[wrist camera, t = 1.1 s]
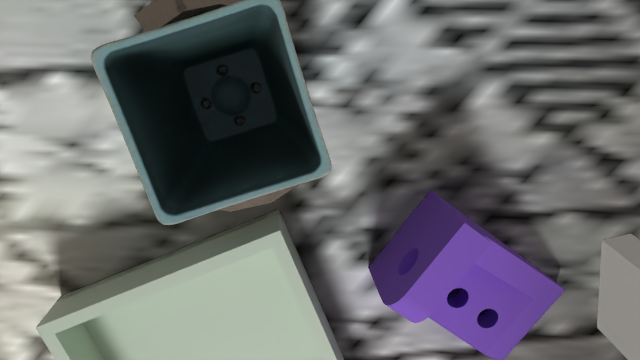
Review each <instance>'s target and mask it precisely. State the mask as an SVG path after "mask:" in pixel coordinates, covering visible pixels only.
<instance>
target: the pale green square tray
mask: <svg viewBox="0 0 640 360" xmlns="http://www.w3.org/2000/svg"><path fill="white" fill-rule="evenodd" d="M36 329H37V331H38V332H39V334H40V336H41V337H42V339H43V341H44V342H45V344H46V345H47V347H48V349H49V350H50V352H51V353H52V355H53V357H54V358H55V360H71V359H72V360H345V359H344V357H343V355H342V353H341V350H340V348H339V346H338V343H337V341H336V339H335V337H334V334H333V332H332V330H331V327H330V325H329V323H328V320H327V318H326V316H325V314H324V311H323V309H322V307H321V304H320V302H319V300H318V297H317V295H316V293H315V291H314V288H313V286H312V284H311V281H310V279H309V277H308V275H307V272H306V270H305V268H304V265H303V263H302V261H301V258H300V256H299V254H298V252H297V249H296V247H295V245H294V242H293V240H292V238H291V235H290V233H289V231H288V229H287V226H286V224H285V222H284V219H283V217H282V215H281V212H280V210H279V209H278V210H276V211H273V212H271V213H268V214H266V215H263V216H261V217H258V218H256V219H253V220H251V221H248V222H246V223H243V224H241V225H238V226H236V227H233V228H231V229H228V230H226V231H223V232H221V233H218V234H215V235H213V236H210V237H208V238H205V239H203V240H200V241H198V242H195V243H193V244H190V245H188V246H185V247H183V248H180V249H178V250H175V251H173V252H170V253H168V254H165V255H163V256H160V257H158V258H155V259H153V260H150V261H148V262H145V263H143V264H140V265H138V266H135V267H133V268H130V269H128V270H125V271H123V272H120V273H118V274H115V275H113V276H110V277H108V278H105V279H103V280H100V281H98V282H95V283H93V284H90V285H88V286H85V287H83V288H80V289H78V290H75V291H73V292H70V293H68V294H65V295H63V296H61V297H60V298H59V299H58V300H57V302H56V303H55V304H54V305H53V307H52V308H51V309H50V310H49V312H48V313H47V314H46V315H45V317H44V318H43V319H42V320H41V322H40V323H39V324H38V325H37V327H36Z"/></svg>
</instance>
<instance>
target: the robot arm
mask: <svg viewBox="0 0 640 360" xmlns="http://www.w3.org/2000/svg"><path fill="white" fill-rule="evenodd" d="M597 328H598V329H599V330H600V331H601V332H602V333H603V334H604V335H605V336H606V337H607V338H608V339H609V341H610V342H611V343H612V344H613V345H614V346H615V347H616V348H617V349H618V350H619V351H620V352H621V353H622V354H623V355H624V356H625V357H626V358H627V359H628V360H640V240H639V239H638V238H636V237H635V236H634V235H632V234H627V235H622V236H618V237H613V238H609V239H604V240H602V247H601V265H600V283H599V301H598V319H597ZM71 360H72V359H71Z"/></svg>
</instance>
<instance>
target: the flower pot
mask: <svg viewBox="0 0 640 360" xmlns="http://www.w3.org/2000/svg"><path fill="white" fill-rule="evenodd" d="M91 60H92V63H93V66H94V69H95V71H96V74H97V76H98V78H99V80H100V83H101V85H102V88H103V90H104V92H105V94H106V97H107V99H108V101H109V104H110V106H111V108H112V111H113V113H114V116H115V118H116V121H117V123H118V126H119V128H120V130H121V132H122V134H123V137H124V140H125V142H126V145H127V147H128V149H129V152H130V154H131V157H132V159H133V161H134V164H135V167H136V169H137V172H138V174H139V177H140V179H141V181H142V184H143V187H144V189H145V191H146V194H147V196H148V199H149V202H150V204H151V206H152V209H153V211H154V213H155V216H156V218H157V219H158V221H159V222H160V223H162V224H163V225H173V224H177V223H180V222H183V221H186V220H189V219H192V218H195V217H198V216H201V215H204V214H207V213H210V212H213V211H216V210H219V209H222V208H225V207H228V206H230V205H234V204H237V203H240V202H243V201H246V200H249V199H253V198H256V197H259V196H263V195H266V194H269V193H272V192H276V191H279V190H282V189H285V188H288V187H292V186H295V185H298V184H301V183H305V182H308V181H312V180H315V179H318V178H321V177H323V176H325V175H327V174H328V173H329V172H330V171H331V161H330V158H329V154H328V151H327V149H326V146H325V143H324V140H323V137H322V134H321V130H320V127H319V124H318V121H317V118H316V115H315V112H314V109H313V106H312V103H311V100H310V96H309V93H308V90H307V87H306V83H305V80H304V77H303V74H302V70H301V67H300V64H299V60H298V57H297V54H296V51H295V47H294V44H293V41H292V37H291V33H290V30H289V26H288V23H287V20H286V15H285V11H284V8H283V6H282V3H281V1H280V0H242V1H239V2H236V3H233V4H230V5H227V6H225V7H221V8H219V9H216V10H213V11H210V12H207V13H204V14H201V15H197V16H195V17H192V18H188V19H185V20H182V21H179V22H176V23H173V24H170V25H167V26H164V27H160V28H157V29H154V30H151V31H148V32H144V33H141V34H137V35H134V36H131V37H127V38H124V39H121V40H117V41H113V42H110V43H107V44H104V45H101V46H99V47H97V48H96V49H94V50H93V52H92V56H91ZM220 66H225V67H226V68H227V72H226V73H225V74H221V73H219V67H220ZM255 83H258V84H259V85H260V87H261V89H260V91H258V92H255V91H253V89H252V86H253V85H254V84H255ZM205 99H208V100H210V102H211V106H210V107H208V108H206V107H205V106H204V105H203V101H204V100H205ZM238 116H242V117H243V118H244V119H245V122H244V123H243V124H241V125H240V124H238V123H236V118H237V117H238Z"/></svg>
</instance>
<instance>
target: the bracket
mask: <svg viewBox="0 0 640 360" xmlns="http://www.w3.org/2000/svg"><path fill="white" fill-rule="evenodd" d="M368 268H369V270H370V273H371V275H372V277H373V280H374V282H375V285H376V287H377V289H378V292H379V294H380V297H381V299H382V301H383V303H384V304H385V305H387V306H388V307H390V308H391V309H393V310H394V311H396V312H398V313H399V314H401V315H402V316H404V317H405V318H407V319H408V320H410V321H411V322H414V323H417V322H421V321H423V320H425V319H426V318H427V317H429V318H430V319H432V320H433V321H435V322H436V323H438V324H439V325H441V326H442V327H444V328H445V329H447V330H448V331H450V332H451V333H453V334H454V335H456V336H457V337H459V338H460V339H462V340H463V341H465V342H466V343H468V344H469V345H471V346H472V347H474V348H475V349H477V350H478V351H480V352H481V353H483V354H485V355H487V356H489V357H491V358H494V359H496V360H503V359H504V358H505V357H506V356H507V355H508V354H509V353H510V351H511V350H512V349H513V348H514V347H515V346H516V345H517V344H518V342H519V341H520V340H521V339H522V338H523V337H524V336H525V335H526V333H527V332H528V331H529V330H530V329H531V328H532V327H533V326H534V324H535V323H536V322H537V321H538V320H539V319H540V318H541V317H542V315H543V314H544V313H545V312H546V311H547V310H548V309H549V307H550V306H551V305H552V304H553V303H554V302H555V301H556V300H557V298H558V297H559V296H560V295H561V294H562V293H563V292H564V291H565V289H564V288H562V287H561V286H560V285H559V284H558V283H557V282H555V281H554V280H553V279H551V278H550V277H549V276H547V275H546V274H545V273H543V272H542V271H540V270H539V269H538V268H536V267H535V266H534V265H532V264H531V263H530V262H528V261H527V260H526V259H524V258H523V257H521V256H520V255H519V254H517V253H516V252H515V251H513V250H512V249H511V248H509V247H508V246H507V245H505V244H504V243H502V242H501V241H500V240H498V239H497V238H496V237H494V236H493V235H492V234H490V233H489V232H488V231H486V230H485V229H484V228H482V227H481V226H479V225H478V224H477V223H475V222H474V221H473V220H471V219H470V218H469V217H467V216H466V215H465V214H463V213H462V212H460V211H459V210H458V209H456V208H455V207H454V206H452V205H451V204H450V203H448V202H447V201H446V200H444V199H443V198H441V197H440V196H439V195H437V194H436V193H435V192H433V191H432V190H430V191H429V193H428V194H427V195H426V196H425V198H424V199H423V200H422V201H421V202H420V204H419V205H418V206H417V207H416V209H415V210H414V211H413V212H412V214H411V215H410V216H409V217H408V219H407V220H406V221H405V222H404V224H403V225H402V226H401V227H400V229H399V230H398V231H397V232H396V234H395V235H394V236H393V237H392V239H391V240H390V241H389V242H388V244H387V245H386V246H385V247H384V249H383V250H382V251H381V252H380V254H379V255H378V256H377V257H376V259H375V260H374V261H373V262H372V264H371V265H370V266H369V267H368ZM455 288H461V289H460V291H459V292H458V293H457V294H456V295H454V296H452V297H447V296H448V294H449V293H450V292H451V291H452V290H453V289H455ZM485 309H488V310H487V312H486V313H484V314H483V315H481V316H478V315H479V313H480V312H481V311H483V310H485Z"/></svg>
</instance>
